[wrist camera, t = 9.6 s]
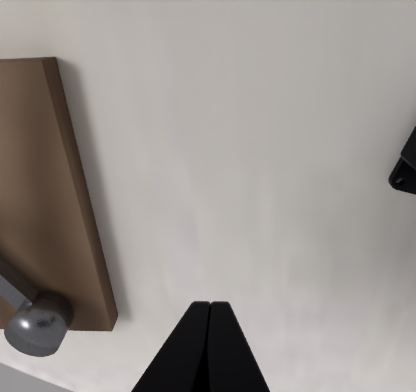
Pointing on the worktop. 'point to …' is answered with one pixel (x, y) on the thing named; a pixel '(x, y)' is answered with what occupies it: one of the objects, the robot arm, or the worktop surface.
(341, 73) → the worktop surface
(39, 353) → the tuning lever
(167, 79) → the worktop surface
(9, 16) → the worktop surface
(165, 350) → the robot arm
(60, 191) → the dial board
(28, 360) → the worktop surface
